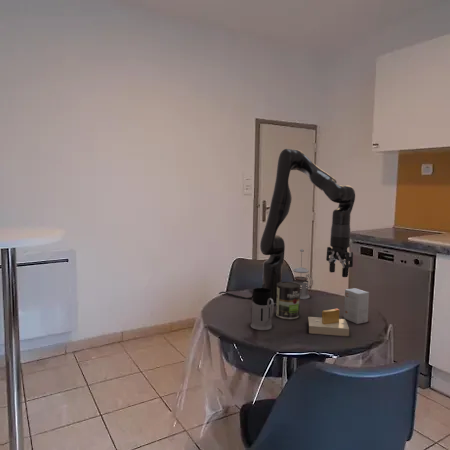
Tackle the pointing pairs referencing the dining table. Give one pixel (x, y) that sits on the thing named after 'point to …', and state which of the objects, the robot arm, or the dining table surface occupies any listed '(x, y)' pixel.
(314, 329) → the base
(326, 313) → the tan rectangular block
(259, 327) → the glass holder
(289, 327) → the dining table surface
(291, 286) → the coffee can
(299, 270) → the french press
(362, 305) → the small box
